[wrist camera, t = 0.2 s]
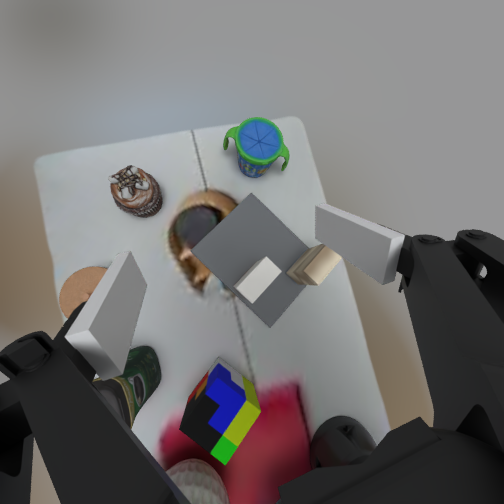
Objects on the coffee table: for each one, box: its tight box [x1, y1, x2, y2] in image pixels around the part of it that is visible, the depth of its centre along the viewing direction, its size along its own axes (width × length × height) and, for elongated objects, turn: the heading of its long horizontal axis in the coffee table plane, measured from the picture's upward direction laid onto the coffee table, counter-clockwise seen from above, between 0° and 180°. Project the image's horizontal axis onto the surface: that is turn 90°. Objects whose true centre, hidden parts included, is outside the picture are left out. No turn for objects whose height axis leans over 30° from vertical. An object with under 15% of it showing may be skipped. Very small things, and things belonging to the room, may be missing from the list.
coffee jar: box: [92, 346, 161, 429], centre depth 35 cm, size 10×8×19 cm
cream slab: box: [233, 256, 282, 304], centre depth 44 cm, size 4×8×12 cm, turn 136°
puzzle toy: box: [179, 357, 261, 465], centre depth 41 cm, size 10×10×10 cm
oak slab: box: [285, 244, 342, 285], centre depth 46 cm, size 4×8×12 cm, turn 136°
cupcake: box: [109, 165, 162, 217], centre depth 44 cm, size 10×10×10 cm
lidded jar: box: [59, 267, 108, 318], centre depth 41 cm, size 11×11×9 cm
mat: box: [191, 193, 309, 328], centre depth 51 cm, size 26×21×1 cm
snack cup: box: [223, 117, 289, 177], centre depth 49 cm, size 16×10×10 cm
